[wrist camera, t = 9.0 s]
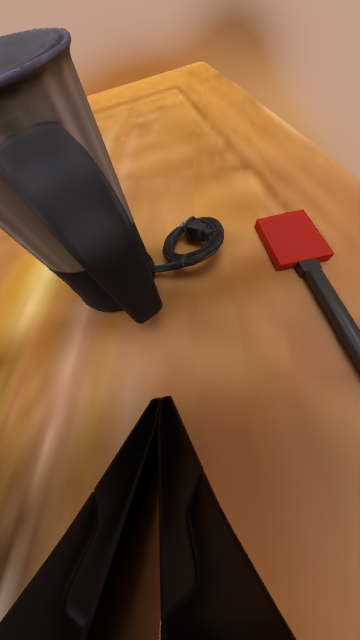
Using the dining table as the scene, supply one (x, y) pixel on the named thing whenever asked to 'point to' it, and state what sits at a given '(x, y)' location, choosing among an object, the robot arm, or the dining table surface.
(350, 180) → the dining table surface
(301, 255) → the spatula
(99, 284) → the milk frother
